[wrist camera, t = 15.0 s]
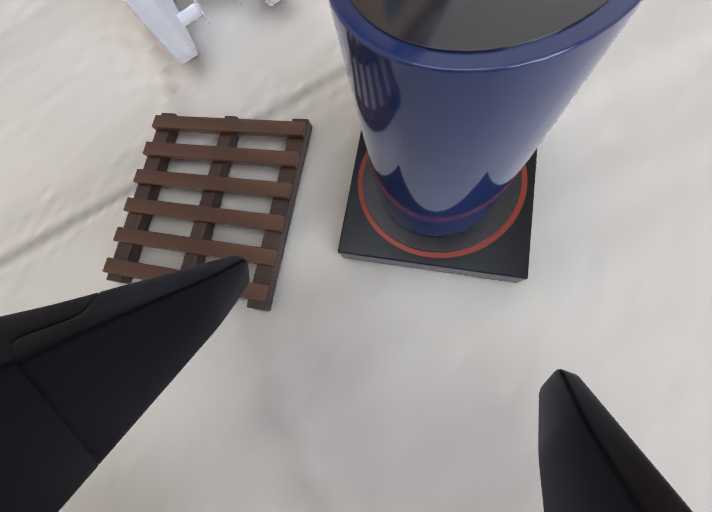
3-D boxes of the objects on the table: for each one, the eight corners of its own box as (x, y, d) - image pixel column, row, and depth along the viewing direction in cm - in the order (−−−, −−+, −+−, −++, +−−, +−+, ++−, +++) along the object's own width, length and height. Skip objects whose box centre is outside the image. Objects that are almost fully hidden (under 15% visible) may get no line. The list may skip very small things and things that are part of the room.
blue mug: (487, 250, 15) (655, 90, 5) (362, 220, 17) (280, 50, 6) (524, 92, 17) (716, -299, 6) (406, 78, 18) (400, -254, 8)
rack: (270, 311, 19) (260, 310, 18) (116, 281, 21) (99, 278, 20) (312, 126, 21) (306, 115, 20) (169, 119, 24) (157, 108, 22)
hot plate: (517, 283, 16) (534, 276, 14) (343, 257, 19) (333, 248, 16) (529, 122, 18) (547, 93, 16) (370, 116, 20) (365, 89, 18)
